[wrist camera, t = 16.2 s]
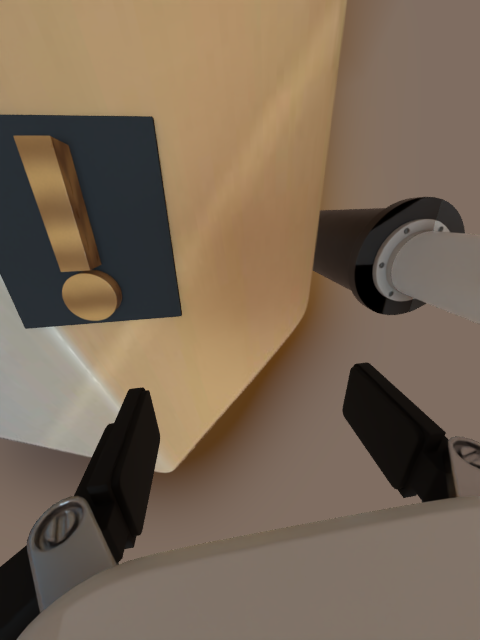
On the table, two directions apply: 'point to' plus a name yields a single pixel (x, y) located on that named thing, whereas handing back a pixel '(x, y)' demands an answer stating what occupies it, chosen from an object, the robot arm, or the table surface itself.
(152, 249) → the mat
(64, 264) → the wooden disc with bar
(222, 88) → the table surface
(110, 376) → the table surface
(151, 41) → the table surface
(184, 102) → the table surface
